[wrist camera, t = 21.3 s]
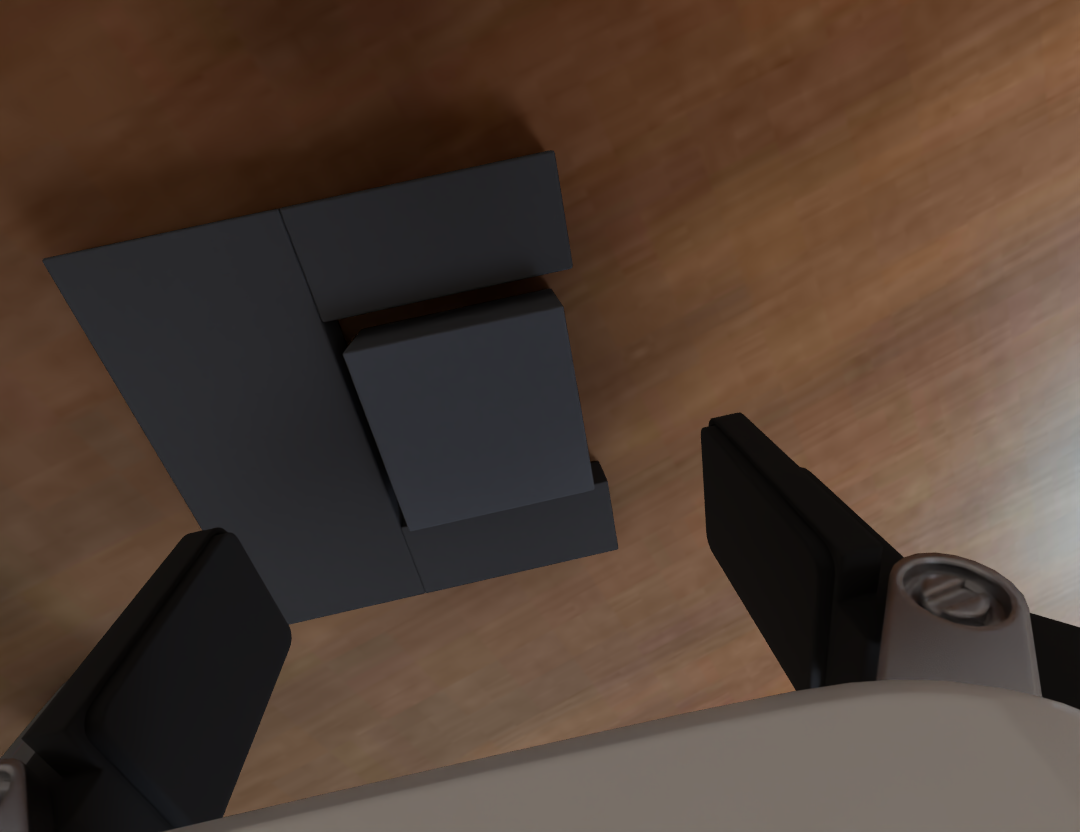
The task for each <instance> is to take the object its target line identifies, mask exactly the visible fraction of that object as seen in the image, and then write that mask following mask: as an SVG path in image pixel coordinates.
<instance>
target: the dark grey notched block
mask: <svg viewBox="0 0 1080 832" xmlns="http://www.w3.org/2000/svg"><path fill="white" fill-rule="evenodd" d="M42 261H43V263H44V265H45V266H46V268H47V270H48V272H49V273H50V275H51V277H52V278H53V280H54V282H55V283H56V285H57V287H58V288H59V290H60V292H61V293H62V295H63V297H64V298H65V300H66V302H67V303H68V305H69V307H70V309H71V310H72V312H73V314H74V315H75V317H76V319H77V320H78V322H79V324H80V325H81V327H82V329H83V330H84V332H85V334H86V335H87V337H88V339H89V340H90V342H91V344H92V345H93V347H94V349H95V351H96V352H97V354H98V356H99V357H100V359H101V361H102V362H103V364H104V366H105V367H106V369H107V371H108V372H109V374H110V376H111V377H112V379H113V381H114V382H115V384H116V386H117V388H118V389H119V391H120V393H121V394H122V396H123V398H124V399H125V401H126V403H127V404H128V406H129V408H130V409H131V411H132V413H133V414H134V416H135V418H136V419H137V421H138V423H139V424H140V426H141V428H142V430H143V431H144V433H145V435H146V436H147V438H148V440H149V441H150V443H151V445H152V446H153V448H154V450H155V451H156V453H157V455H158V456H159V458H160V460H161V461H162V463H163V465H164V467H165V468H166V470H167V472H168V473H169V475H170V477H171V478H172V480H173V482H174V483H175V485H176V487H177V488H178V490H179V492H180V493H181V495H182V497H183V498H184V500H185V502H186V503H187V505H188V507H189V509H190V510H191V512H192V514H193V515H194V517H195V519H196V520H197V522H198V524H199V525H200V527H201V529H202V530H208V529H212V528H217V527H219V528H223V529H224V530H226V531H227V532H231V533H233V534H235V535H236V536H237V538H238V539H239V541H240V542H241V544H242V546H243V548H244V549H245V551H246V553H247V555H248V556H249V558H250V560H251V561H252V563H253V565H254V567H255V568H256V570H257V572H258V573H259V575H260V577H261V579H262V580H263V582H264V584H265V586H266V587H267V589H268V591H269V592H270V594H271V596H272V598H273V599H274V601H275V603H276V604H277V606H278V608H279V610H280V611H281V613H282V615H283V617H284V618H285V620H286V622H287V623H288V625H289V624H293V623H298V622H302V621H306V620H311V619H315V618H320V617H324V616H328V615H333V614H337V613H341V612H346V611H350V610H354V609H359V608H363V607H368V606H372V605H376V604H381V603H385V602H389V601H394V600H398V599H402V598H407V597H411V596H416V595H420V594H424V593H425V592H426V593H429V592H434V591H438V590H442V589H447V588H451V587H456V586H460V585H464V584H469V583H473V582H477V581H482V580H486V579H490V578H495V577H499V576H504V575H508V574H512V573H517V572H521V571H525V570H530V569H534V568H538V567H543V566H547V565H552V564H556V563H560V562H565V561H569V560H573V559H578V558H582V557H586V556H591V555H595V554H600V553H604V552H608V551H613V550H617V549H618V543H617V537H616V531H615V525H614V518H613V512H612V506H611V500H610V493H609V487H608V481H607V479H606V477H605V474H604V472H603V470H602V467H601V465H600V463H599V461H597V462H593V463H591V469H592V475H593V480H594V486H595V488H594V490H592V491H587V492H583V493H578V494H574V495H569V496H565V497H561V498H556V499H552V500H547V501H543V502H538V503H534V504H530V505H525V506H521V507H516V508H512V509H507V510H503V511H499V512H494V513H490V514H485V515H481V516H476V517H472V518H468V519H463V520H459V521H454V522H450V523H446V524H441V525H437V526H432V527H428V528H423V529H419V530H415V531H409V529H408V527H407V524H406V521H405V519H404V516H403V513H402V511H401V508H400V505H399V503H398V500H397V497H396V495H395V492H394V489H393V487H392V484H391V482H390V479H389V476H388V474H387V471H386V468H385V466H384V463H383V460H382V458H381V455H380V452H379V450H378V447H377V444H376V442H375V439H374V436H373V434H372V431H371V428H370V426H369V423H368V420H367V418H366V415H365V412H364V410H363V407H362V404H361V402H360V399H359V397H358V394H357V391H356V389H355V386H354V383H353V381H352V378H351V375H350V373H349V370H348V367H347V365H346V362H345V359H344V357H343V353H344V351H345V350H346V349H347V346H346V343H345V340H344V337H343V335H342V332H341V329H340V327H339V324H338V321H337V320H338V319H342V318H347V317H351V316H356V315H360V314H365V313H370V312H374V311H379V310H383V309H388V308H393V307H397V306H402V305H406V304H411V303H415V302H420V301H425V300H429V299H434V298H438V297H443V296H448V295H452V294H457V293H461V292H466V291H470V290H475V289H480V288H484V287H489V286H493V285H498V284H503V283H507V282H512V281H516V280H521V279H525V278H530V277H535V276H539V275H544V274H548V273H553V272H558V271H562V270H567V269H571V268H572V266H573V264H572V258H571V251H570V245H569V239H568V233H567V226H566V220H565V214H564V208H563V201H562V195H561V189H560V183H559V177H558V170H557V164H556V158H555V153H554V151H552V150H550V151H545V152H541V153H536V154H531V155H527V156H522V157H517V158H513V159H508V160H503V161H498V162H494V163H489V164H484V165H480V166H475V167H470V168H466V169H461V170H456V171H452V172H447V173H442V174H438V175H433V176H428V177H423V178H419V179H414V180H409V181H405V182H400V183H395V184H391V185H386V186H381V187H377V188H372V189H367V190H363V191H358V192H353V193H349V194H344V195H339V196H334V197H330V198H325V199H320V200H316V201H311V202H306V203H302V204H297V205H292V206H288V207H283V208H279V209H273V210H269V211H264V212H259V213H255V214H250V215H245V216H241V217H236V218H231V219H227V220H222V221H217V222H213V223H208V224H203V225H199V226H194V227H189V228H184V229H180V230H175V231H170V232H166V233H161V234H156V235H152V236H147V237H142V238H138V239H133V240H128V241H124V242H119V243H114V244H110V245H105V246H100V247H95V248H91V249H86V250H81V251H77V252H72V253H67V254H63V255H58V256H53V257H49V258H44V259H43V260H42Z"/></svg>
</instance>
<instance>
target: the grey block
mask: <svg viewBox="0 0 1080 832" xmlns="http://www.w3.org/2000/svg"><path fill="white" fill-rule="evenodd" d="M343 357H344V359H345V362H346V365H347V367H348V370H349V373H350V375H351V378H352V381H353V383H354V386H355V389H356V391H357V394H358V397H359V399H360V402H361V404H362V407H363V410H364V412H365V415H366V418H367V420H368V423H369V426H370V428H371V431H372V434H373V436H374V439H375V442H376V444H377V447H378V450H379V452H380V455H381V458H382V460H383V463H384V466H385V468H386V471H387V474H388V476H389V479H390V482H391V484H392V487H393V489H394V492H395V495H396V497H397V500H398V503H399V505H400V508H401V511H402V513H403V516H404V519H405V521H406V524H407V527H408V529H409V531H415V530H419V529H423V528H428V527H432V526H437V525H441V524H446V523H450V522H454V521H459V520H463V519H468V518H472V517H476V516H481V515H485V514H490V513H494V512H499V511H503V510H507V509H512V508H516V507H521V506H525V505H530V504H534V503H538V502H543V501H547V500H552V499H556V498H561V497H565V496H569V495H574V494H578V493H583V492H587V491H592V490H594V488H595V486H594V480H593V475H592V469H591V463H590V457H589V452H588V446H587V440H586V434H585V429H584V423H583V417H582V411H581V406H580V400H579V394H578V388H577V383H576V377H575V371H574V365H573V360H572V354H571V348H570V342H569V337H568V331H567V325H566V319H565V313H564V308H563V306H562V304H561V303H560V301H559V300H558V298H557V297H556V295H555V294H554V292H553V291H552V289H545V290H541V291H536V292H531V293H527V294H522V295H518V296H513V297H509V298H504V299H499V300H495V301H490V302H486V303H481V304H476V305H472V306H467V307H463V308H458V309H453V310H449V311H444V312H440V313H435V314H431V315H426V316H421V317H417V318H412V319H408V320H403V321H398V322H394V323H389V324H385V325H380V326H375V327H371V328H366V329H362V330H361V331H360V332H359V333H358V335H357V336H356V337H355V338H354V340H353V341H352V342H351V344H350V345H349V346H348V347H347V349H346V350H345V351H344V353H343Z"/></svg>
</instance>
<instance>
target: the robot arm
mask: <svg viewBox="0 0 1080 832" xmlns="http://www.w3.org/2000/svg"><path fill="white" fill-rule="evenodd" d="M701 445H702V463H703V481H704V499H705V516H706V533H707V539H708V543H709V546H710V548H711V551H712V552H713V554H714V556H715V558H716V559H717V561H718V562H719V564H720V566H721V567H722V569H723V571H724V572H725V574H726V576H727V577H728V579H729V581H730V582H731V584H732V586H733V587H734V589H735V591H736V592H737V594H738V596H739V597H740V599H741V600H742V602H743V604H744V605H745V607H746V609H747V610H748V612H749V614H750V615H751V617H752V619H753V620H754V622H755V624H756V625H757V627H758V629H759V630H760V632H761V634H762V635H763V637H764V638H765V640H766V642H767V643H768V645H769V647H770V648H771V650H772V652H773V653H774V655H775V657H776V658H777V660H778V662H779V663H780V665H781V667H782V668H783V670H784V671H785V673H786V675H787V676H788V678H789V680H790V681H791V683H792V685H793V686H794V688H795V690H796V691H793V692H788V693H783V694H778V695H773V696H768V697H763V698H758V699H753V700H748V701H743V702H738V703H733V704H728V705H724V706H719V707H714V708H709V709H704V710H699V711H694V712H689V713H684V714H680V715H675V716H671V717H666V718H662V719H657V720H652V721H648V722H643V723H639V724H634V725H630V726H625V727H621V728H616V729H612V730H607V731H603V732H598V733H594V734H589V735H584V736H580V737H575V738H571V739H566V740H562V741H557V742H553V743H548V744H544V745H539V746H535V747H530V748H526V749H521V750H517V751H512V752H508V753H503V754H499V755H494V756H490V757H486V758H481V759H477V760H472V761H468V762H463V763H459V764H455V765H450V766H446V767H441V768H437V769H432V770H428V771H424V772H419V773H415V774H410V775H406V776H402V777H397V778H393V779H388V780H384V781H380V782H375V783H371V784H366V785H362V786H358V787H353V788H349V789H344V790H340V791H336V792H331V793H327V794H322V795H318V796H314V797H309V798H305V799H301V800H297V801H292V802H288V803H284V804H279V805H275V806H271V807H266V808H262V809H258V810H254V811H249V812H245V813H241V814H236V815H232V816H228V817H224V818H222V817H223V815H224V812H225V810H226V807H227V805H228V802H229V800H230V797H231V795H232V792H233V790H234V787H235V785H236V782H237V779H238V777H239V774H240V772H241V769H242V767H243V764H244V762H245V759H246V757H247V754H248V752H249V749H250V747H251V744H252V742H253V739H254V737H255V734H256V732H257V729H258V727H259V724H260V721H261V719H262V716H263V714H264V711H265V709H266V706H267V704H268V701H269V699H270V696H271V694H272V691H273V689H274V686H275V684H276V681H277V679H278V676H279V674H280V671H281V668H282V666H283V663H284V661H285V658H286V656H287V653H288V651H289V648H290V645H291V639H292V638H291V630H290V627H289V625H288V623H287V622H286V620H285V618H284V617H283V615H282V613H281V611H280V610H279V608H278V606H277V604H276V603H275V601H274V599H273V598H272V596H271V594H270V592H269V591H268V589H267V587H266V586H265V584H264V582H263V580H262V579H261V577H260V575H259V573H258V572H257V570H256V568H255V567H254V565H253V563H252V561H251V560H250V558H249V556H248V555H247V553H246V551H245V549H244V548H243V546H242V544H241V542H240V541H239V539H238V538H237V536H236V535H235V534H233V533H231V532H227V531H226V530H224V529H223V528H219V527H217V528H212V529H208V530H203V531H199V532H194V533H190V534H187V535H185V536H184V537H183V538H182V539H181V540H180V542H179V543H178V544H177V545H176V547H175V548H174V549H173V550H172V552H171V553H170V554H169V555H168V557H167V558H166V559H165V560H164V562H163V563H162V564H161V565H160V567H159V568H158V569H157V570H156V571H155V573H154V574H153V575H152V576H151V578H150V579H149V580H148V581H147V583H146V584H145V585H144V586H143V588H142V589H141V590H140V591H139V593H138V594H137V595H136V596H135V598H134V599H133V600H132V601H131V603H130V604H129V605H128V606H127V608H126V609H125V610H124V611H123V613H122V614H121V615H120V616H119V618H118V619H117V620H116V621H115V622H114V624H113V625H112V626H111V627H110V629H109V630H108V631H107V632H106V634H105V635H104V636H103V637H102V639H101V640H100V641H99V642H98V644H97V645H96V646H95V647H94V649H93V650H92V651H91V652H90V654H89V655H88V656H87V657H86V659H85V660H84V661H83V662H82V664H81V665H80V666H79V667H78V669H77V670H76V671H75V672H74V673H73V675H72V676H71V677H70V678H69V680H68V681H67V682H66V683H65V685H64V686H63V687H62V688H61V690H60V691H59V692H58V693H57V695H56V696H55V697H54V698H53V700H52V701H51V702H50V703H49V705H48V706H47V707H46V708H45V710H44V711H43V712H42V713H41V715H40V716H39V717H38V718H37V720H36V721H35V722H34V723H33V724H32V726H31V727H30V728H29V729H28V731H27V732H26V733H25V734H24V736H23V737H22V738H21V739H22V740H23V741H24V742H25V743H26V744H27V745H28V746H29V747H30V748H31V749H32V750H34V751H35V753H34V754H33V756H32V757H31V758H30V760H29V761H28V762H27V764H26V765H25V764H24V763H23V762H22V761H20V760H17V759H14V758H7V759H0V832H1080V627H1077V626H1073V625H1070V624H1066V623H1063V622H1059V621H1056V620H1052V619H1049V618H1046V617H1042V616H1039V615H1035V614H1032V613H1030V612H1029V608H1028V605H1027V603H1026V600H1025V598H1024V595H1023V594H1022V593H1021V592H1020V591H1019V590H1018V589H1017V588H1016V587H1015V585H1014V584H1013V583H1012V582H1011V581H1009V580H1008V579H1006V578H1005V577H1004V576H1002V575H1001V574H999V573H998V572H996V571H995V570H993V569H991V568H989V567H986V566H984V565H982V564H980V563H978V562H976V561H973V560H969V559H966V558H963V557H959V556H956V555H949V554H942V553H918V554H914V555H911V556H907V557H903V556H902V555H901V554H900V553H898V552H897V551H896V550H895V549H894V548H893V547H892V546H891V545H890V544H889V543H888V542H886V541H885V540H884V539H883V538H882V537H881V536H880V535H879V534H878V533H877V532H876V531H874V530H873V529H872V528H871V527H870V526H869V525H868V524H867V523H866V522H865V521H864V520H862V519H861V518H860V517H859V516H858V515H857V514H856V513H855V512H854V511H853V510H852V509H850V508H849V507H848V506H847V505H846V504H845V503H844V502H843V501H842V500H841V499H840V498H839V497H837V496H836V495H835V494H834V493H833V492H832V491H831V490H830V489H829V488H828V487H827V486H825V485H824V484H823V483H822V482H821V481H820V480H819V479H818V478H817V477H816V476H815V475H813V474H812V473H811V472H810V471H808V470H807V469H806V468H802V467H799V466H798V465H797V464H796V463H795V462H794V461H793V460H792V459H790V458H789V457H788V456H787V455H786V454H785V453H784V452H783V451H782V450H781V449H780V448H779V447H778V446H777V445H775V444H774V443H773V442H772V441H771V440H770V439H769V438H768V437H767V436H766V435H765V434H764V433H763V432H762V431H760V430H759V429H758V428H757V427H756V426H755V425H754V424H753V423H752V422H751V421H750V420H749V419H748V418H747V417H746V416H744V415H743V414H742V413H734V414H730V415H725V416H721V417H716V418H711V420H710V421H709V427H704V428H702V430H701Z"/></svg>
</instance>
